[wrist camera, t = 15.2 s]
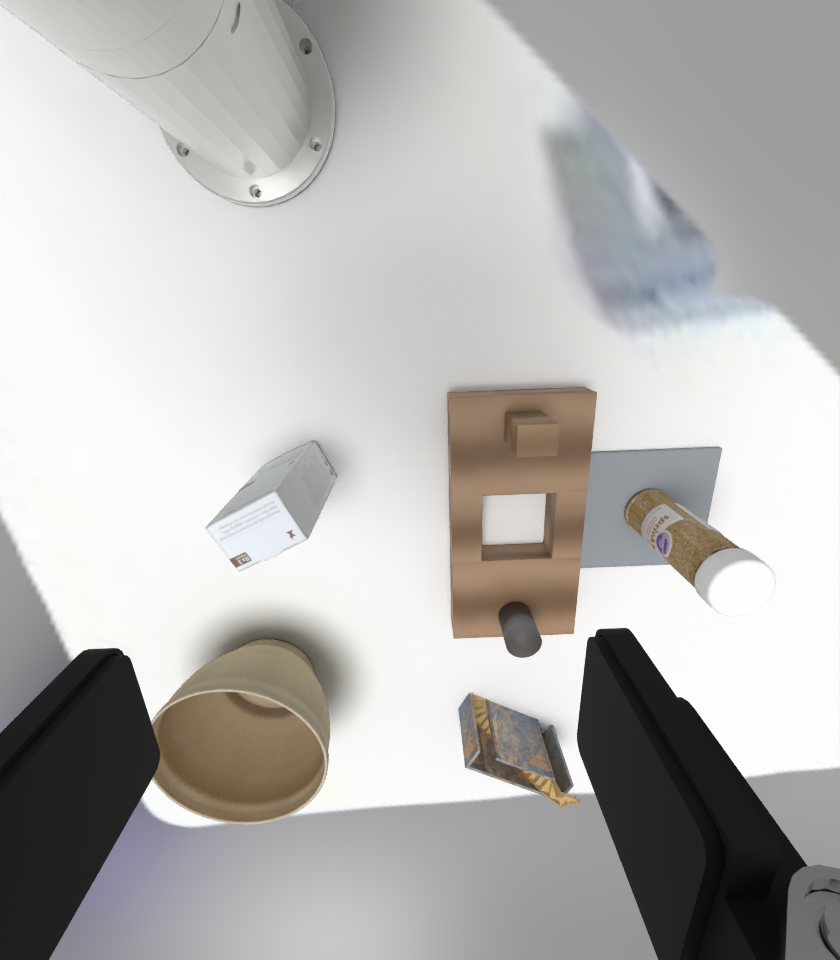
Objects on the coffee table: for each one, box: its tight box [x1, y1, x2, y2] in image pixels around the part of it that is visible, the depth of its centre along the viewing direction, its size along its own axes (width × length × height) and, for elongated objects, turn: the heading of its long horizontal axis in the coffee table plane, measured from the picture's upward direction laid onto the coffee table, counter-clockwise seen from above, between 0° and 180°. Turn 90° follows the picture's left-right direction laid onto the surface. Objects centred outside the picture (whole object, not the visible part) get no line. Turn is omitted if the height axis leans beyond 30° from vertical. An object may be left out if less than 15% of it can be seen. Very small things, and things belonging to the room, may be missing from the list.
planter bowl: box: [151, 639, 330, 824], centre depth 44 cm, size 16×16×11 cm
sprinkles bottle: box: [625, 489, 775, 616], centre depth 36 cm, size 5×5×13 cm
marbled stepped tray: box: [459, 693, 580, 807], centre depth 48 cm, size 11×3×10 cm, turn 63°
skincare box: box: [206, 441, 337, 571], centre depth 36 cm, size 6×4×12 cm
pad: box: [580, 447, 722, 568], centre depth 43 cm, size 12×12×1 cm
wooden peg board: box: [448, 387, 597, 658], centre depth 40 cm, size 24×12×8 cm, turn 2°
